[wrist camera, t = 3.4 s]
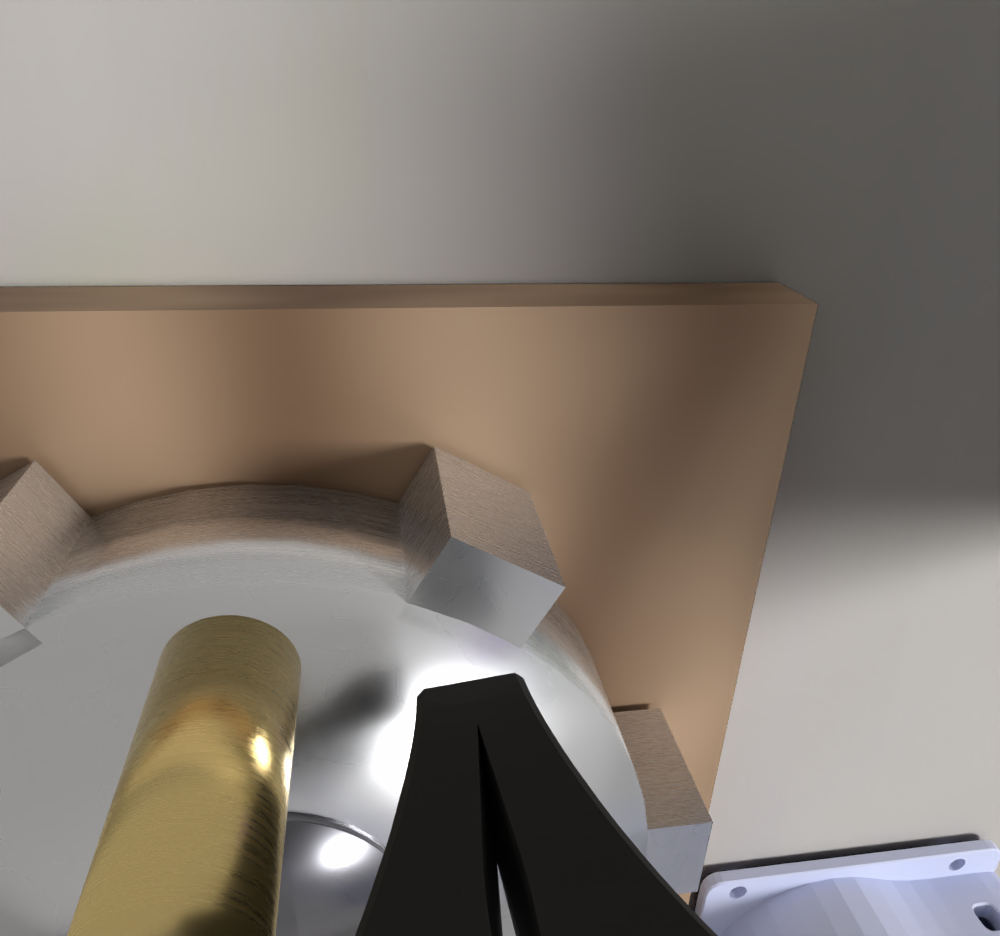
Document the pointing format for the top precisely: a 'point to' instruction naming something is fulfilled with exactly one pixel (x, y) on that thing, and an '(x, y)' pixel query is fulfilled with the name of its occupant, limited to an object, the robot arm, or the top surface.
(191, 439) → the base plate
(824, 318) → the top surface
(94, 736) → the gear wheel
